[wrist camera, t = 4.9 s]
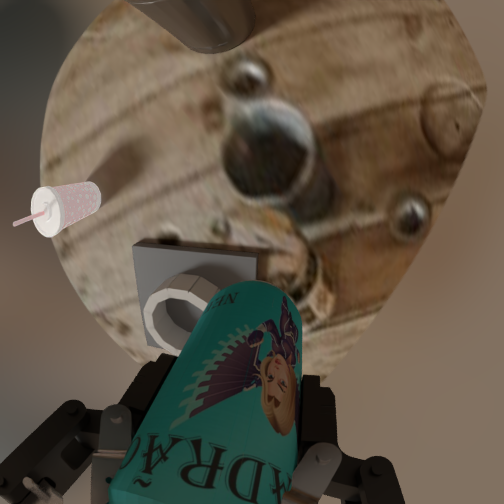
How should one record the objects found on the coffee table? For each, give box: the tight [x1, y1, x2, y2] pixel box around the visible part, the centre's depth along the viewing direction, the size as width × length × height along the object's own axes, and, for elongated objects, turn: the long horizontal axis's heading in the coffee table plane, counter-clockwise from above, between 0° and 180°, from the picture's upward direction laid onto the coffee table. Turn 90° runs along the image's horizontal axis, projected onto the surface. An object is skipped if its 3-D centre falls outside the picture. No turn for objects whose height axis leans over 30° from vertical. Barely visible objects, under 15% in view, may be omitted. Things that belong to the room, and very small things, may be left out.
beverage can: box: [108, 280, 302, 504], centre depth 11 cm, size 6×6×15 cm
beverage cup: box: [13, 181, 101, 237], centre depth 28 cm, size 6×6×14 cm
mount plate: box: [132, 242, 258, 356], centre depth 35 cm, size 16×16×6 cm
